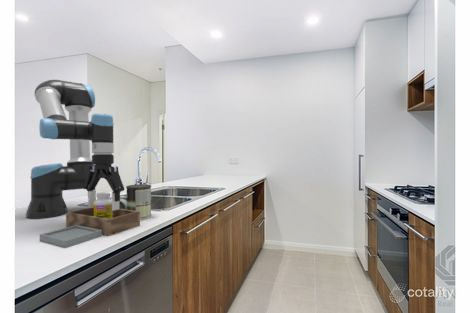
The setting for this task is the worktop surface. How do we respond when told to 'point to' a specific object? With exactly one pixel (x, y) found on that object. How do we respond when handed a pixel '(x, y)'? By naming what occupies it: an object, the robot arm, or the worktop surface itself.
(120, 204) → the ceramic mug
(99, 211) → the supplement bottle
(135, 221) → the walnut box
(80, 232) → the slate tray
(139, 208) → the coffee can
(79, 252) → the worktop surface
